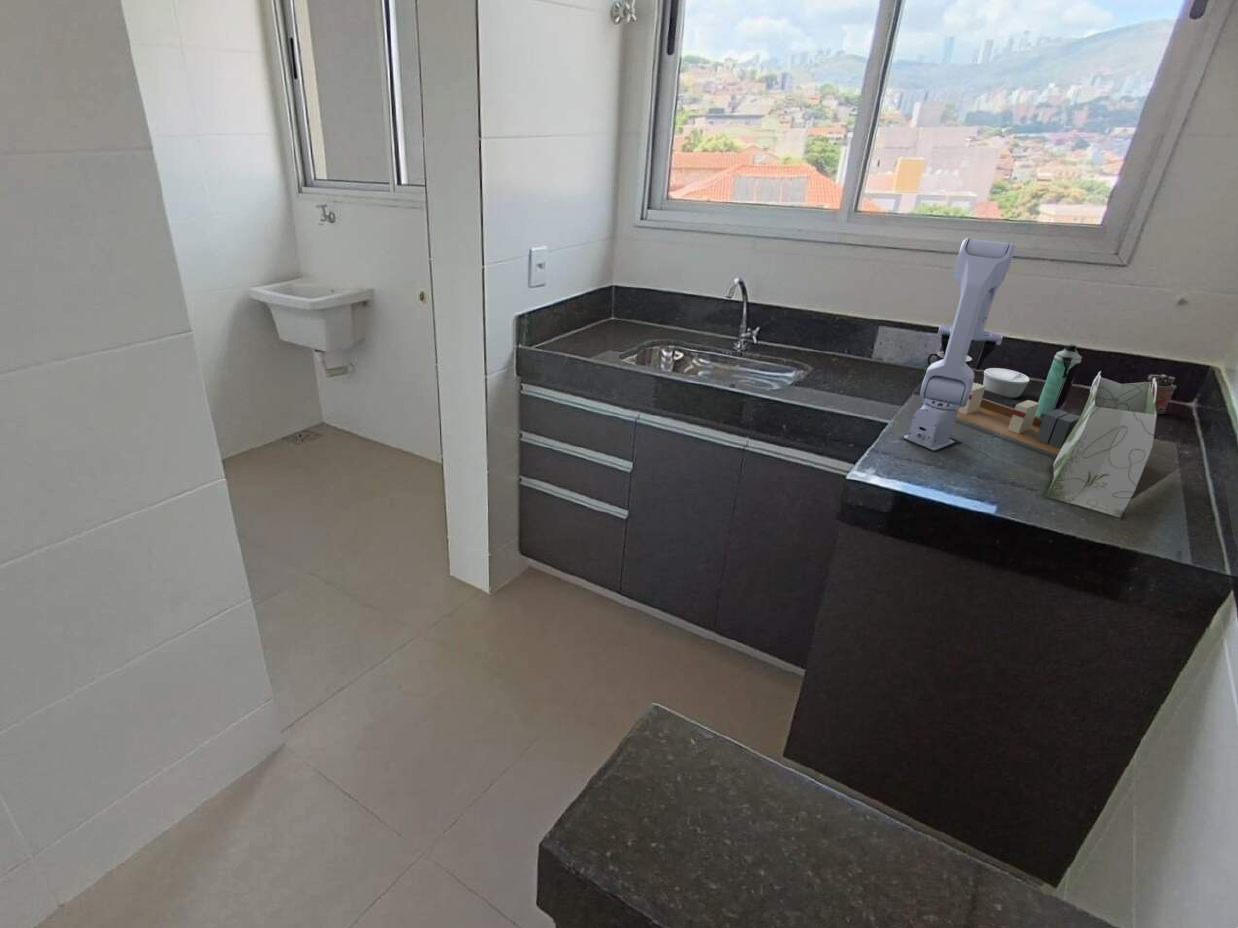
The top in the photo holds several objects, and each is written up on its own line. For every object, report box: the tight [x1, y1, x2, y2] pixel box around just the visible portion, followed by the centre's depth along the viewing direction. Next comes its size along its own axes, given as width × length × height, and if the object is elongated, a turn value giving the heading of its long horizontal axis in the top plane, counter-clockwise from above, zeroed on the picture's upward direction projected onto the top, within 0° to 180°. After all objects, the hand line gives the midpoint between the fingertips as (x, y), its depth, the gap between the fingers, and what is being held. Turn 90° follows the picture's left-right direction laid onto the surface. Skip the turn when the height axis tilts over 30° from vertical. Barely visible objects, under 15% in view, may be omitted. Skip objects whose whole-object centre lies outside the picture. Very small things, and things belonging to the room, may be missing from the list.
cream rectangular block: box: [958, 382, 986, 415], centre depth 169 cm, size 6×3×6 cm, turn 126°
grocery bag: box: [1044, 370, 1158, 519], centre depth 137 cm, size 32×14×23 cm, turn 144°
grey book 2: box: [1049, 412, 1081, 448], centre depth 154 cm, size 6×3×6 cm, turn 126°
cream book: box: [1008, 399, 1040, 434], centre depth 160 cm, size 6×3×6 cm, turn 126°
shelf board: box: [956, 397, 1061, 456], centre depth 164 cm, size 14×31×3 cm, turn 36°
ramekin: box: [982, 367, 1031, 399], centre depth 186 cm, size 11×11×5 cm
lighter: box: [1147, 374, 1177, 415], centre depth 178 cm, size 8×3×10 cm, turn 84°
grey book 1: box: [1036, 409, 1069, 444], centre depth 156 cm, size 6×3×6 cm, turn 126°
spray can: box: [1035, 344, 1083, 418], centre depth 165 cm, size 6×6×20 cm
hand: (960, 365), depth 174 cm, fingers open, 7 cm apart
